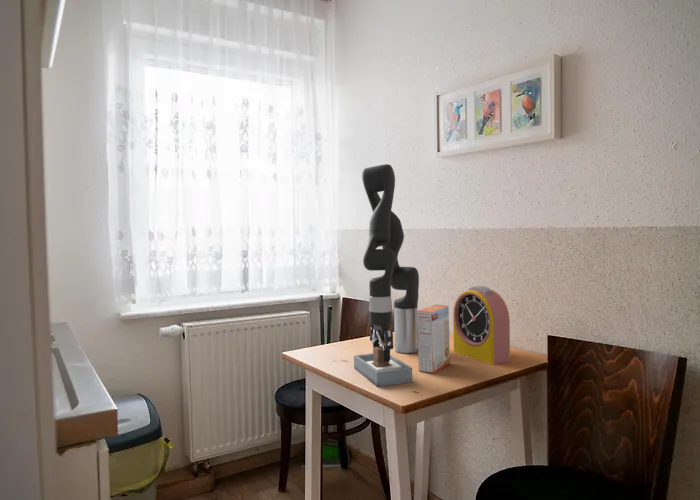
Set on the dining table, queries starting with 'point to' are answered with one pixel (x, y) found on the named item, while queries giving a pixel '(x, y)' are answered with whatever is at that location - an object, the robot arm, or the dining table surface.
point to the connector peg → (379, 357)
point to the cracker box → (433, 338)
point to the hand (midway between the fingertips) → (381, 358)
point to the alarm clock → (482, 326)
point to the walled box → (383, 370)
